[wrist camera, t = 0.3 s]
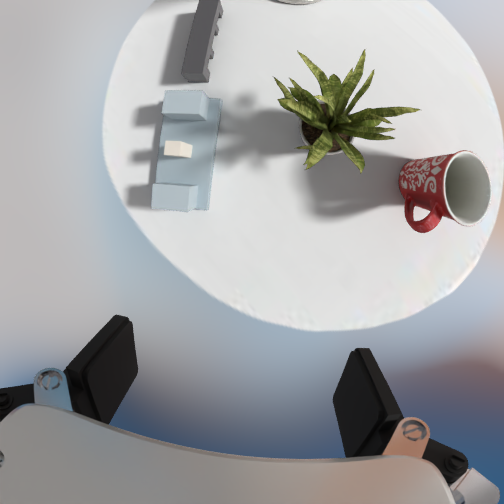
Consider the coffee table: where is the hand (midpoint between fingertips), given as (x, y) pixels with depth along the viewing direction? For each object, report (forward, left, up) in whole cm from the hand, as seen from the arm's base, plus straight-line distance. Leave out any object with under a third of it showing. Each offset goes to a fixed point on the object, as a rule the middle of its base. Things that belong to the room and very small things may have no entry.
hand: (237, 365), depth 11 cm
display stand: (-10, -11, -30) cm, 34 cm away
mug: (-10, +23, -31) cm, 39 cm away
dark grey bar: (-28, -11, -30) cm, 43 cm away
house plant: (-16, +8, -31) cm, 35 cm away
